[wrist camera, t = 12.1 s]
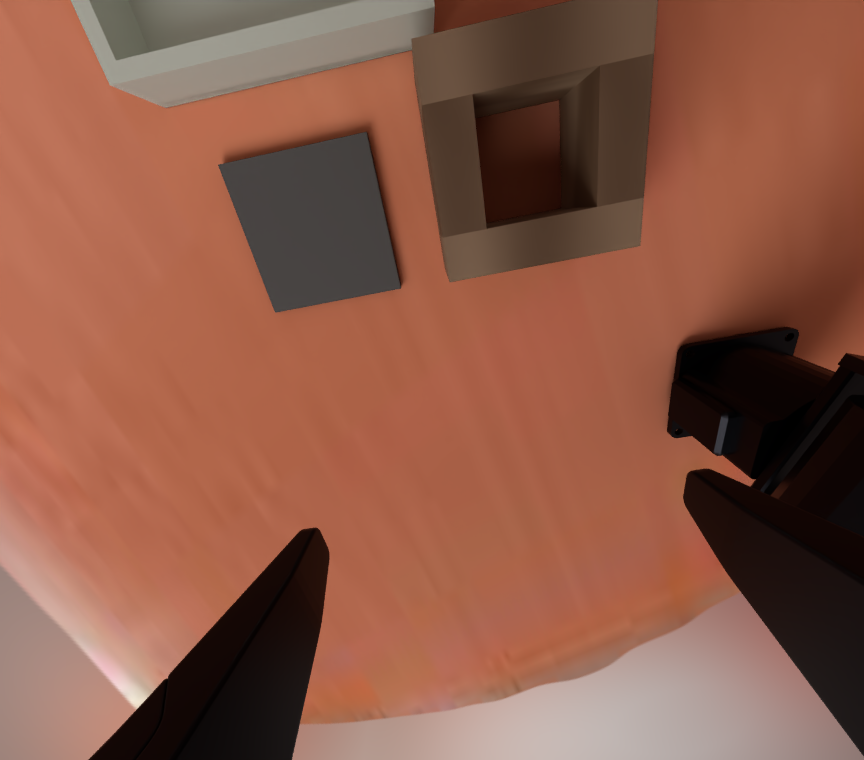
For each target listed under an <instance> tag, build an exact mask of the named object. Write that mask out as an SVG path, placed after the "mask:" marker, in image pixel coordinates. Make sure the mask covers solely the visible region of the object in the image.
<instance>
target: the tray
mask: <svg viewBox="0 0 864 760" xmlns="http://www.w3.org/2000/svg"><path fill="white" fill-rule="evenodd" d="M71 2H72V4H73V6H74V8H75V11H76V13H77V15H78V17H79V19H80V21H81V24H82V26H83V28H84V30H85V32H86V34H87V36H88V39H89V41H90V43H91V45H92V47H93V49H94V52H95V54H96V56H97V58H98V60H99V62H100V65H101V67H102V69H103V71H104V73H105V75H106V78H107V80H108V82H109V84H110V86H113V87H115V88H118V89H120V90H123V91H125V92H128V93H130V94H133V95H135V96H137V97H140V98H142V99H145V100H147V101H150V102H152V103H155V104H157V105H160V106H162V107H165V108H167V107H172V106H176V105H180V104H184V103H189V102H193V101H197V100H202V99H206V98H210V97H214V96H219V95H223V94H227V93H231V92H236V91H240V90H244V89H248V88H253V87H257V86H261V85H265V84H270V83H274V82H278V81H282V80H287V79H291V78H295V77H299V76H304V75H308V74H312V73H316V72H321V71H325V70H329V69H333V68H338V67H342V66H346V65H350V64H355V63H359V62H363V61H367V60H372V59H376V58H380V57H384V56H389V55H393V54H397V53H401V52H406V51H410V50H412V42H411V39H412V38H416V37H421V36H425V35H429V34H433V33H434V16H435V4H434V0H71Z"/></svg>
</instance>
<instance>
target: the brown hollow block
mask: <svg viewBox="0 0 864 760" xmlns="http://www.w3.org/2000/svg"><path fill="white" fill-rule="evenodd" d="M657 6H658V0H572V1H568V2H564V3H560V4H555V5H551V6H547V7H543V8H539V9H534V10H530V11H526V12H522V13H517V14H513V15H509V16H505V17H501V18H496V19H492V20H488V21H484V22H480V23H475V24H471V25H467V26H463V27H459V28H454V29H450V30H446V31H442V32H437V33H433V34H429V35H425V36H421V37H416V38H412V39H411V42H412V54H413V67H414V79H415V86H416V92H417V98H418V105H419V111H420V117H421V123H422V129H423V136H424V142H425V148H426V154H427V160H428V166H429V173H430V179H431V185H432V191H433V197H434V204H435V210H436V216H437V222H438V228H439V235H440V241H441V247H442V253H443V259H444V266H445V270H446V273H447V276H448V279H449V281H450V282H454V281H459V280H464V279H470V278H475V277H480V276H485V275H491V274H496V273H501V272H506V271H512V270H517V269H522V268H527V267H532V266H538V265H543V264H548V263H553V262H559V261H564V260H569V259H574V258H580V257H585V256H590V255H595V254H600V253H606V252H611V251H616V250H621V249H627V248H632V247H637V246H640V242H641V229H642V215H643V201H644V187H645V173H646V159H647V145H648V131H649V117H650V103H651V89H652V76H653V62H654V48H655V34H656V20H657ZM556 100H559V106H560V157H561V208H560V209H555V210H550V211H545V212H540V213H535V214H530V215H525V216H520V217H515V218H510V219H505V220H500V221H495V222H490V223H486V218H485V208H484V199H483V189H482V180H481V170H480V161H479V152H478V142H477V133H476V123H475V118H479V117H483V116H488V115H492V114H497V113H501V112H506V111H511V110H515V109H520V108H524V107H529V106H533V105H538V104H542V103H547V102H551V101H556Z"/></svg>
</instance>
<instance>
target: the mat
mask: <svg viewBox="0 0 864 760" xmlns="http://www.w3.org/2000/svg"><path fill="white" fill-rule="evenodd" d="M218 166H219V168H220V171H221V174H222V176H223V179H224V181H225V184H226V187H227V189H228V192H229V194H230V197H231V199H232V202H233V205H234V207H235V210H236V212H237V215H238V218H239V220H240V223H241V225H242V228H243V231H244V233H245V236H246V238H247V241H248V243H249V246H250V249H251V251H252V254H253V256H254V259H255V262H256V264H257V267H258V269H259V272H260V275H261V277H262V280H263V282H264V285H265V287H266V290H267V293H268V295H269V298H270V300H271V303H272V306H273V308H274V311H275V312H281V311H286V310H291V309H296V308H301V307H307V306H312V305H317V304H322V303H327V302H333V301H338V300H343V299H348V298H354V297H359V296H364V295H369V294H374V293H380V292H385V291H390V290H395V289H401V284H400V279H399V275H398V270H397V266H396V261H395V257H394V252H393V247H392V243H391V238H390V234H389V229H388V225H387V220H386V216H385V211H384V206H383V202H382V197H381V193H380V188H379V184H378V179H377V174H376V170H375V165H374V161H373V156H372V152H371V147H370V143H369V138H368V134H367V132H364V133H359V134H355V135H350V136H346V137H341V138H337V139H332V140H328V141H323V142H319V143H314V144H310V145H305V146H301V147H296V148H292V149H287V150H283V151H278V152H274V153H269V154H265V155H260V156H256V157H251V158H247V159H242V160H238V161H233V162H229V163H224V164H220V165H218Z"/></svg>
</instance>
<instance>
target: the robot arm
mask: <svg viewBox="0 0 864 760" xmlns="http://www.w3.org/2000/svg"><path fill="white" fill-rule="evenodd" d="M787 334H788V335H787ZM786 335H787V336H786ZM798 336H799V332H798V330H796V329H793V328H790V327H782V328H776V329H770V330H764V331H759V332H753V333H747V334H741V335H735V336H730V337H724V338H718V339H712V340H706V341H701V342H695V343H689V344H685V345H683V346H681V347H680V348H679V350H678V352H677V358H676V366H675V373H674V381H673V383H672V389H671V397H670V405H669V412H668V416H669V419H668V427H667V432H668V433H669V434H670V435H671V436H672V437H674V438H681V437H688V436H693V437H694V438H695V439H696V440H698V441H699V442H700V443H701V444H702V445H704V446H705V447H706V448H707V449H708V450H710V451H711V452H712V453H713V454H715V455H716V456H721V455H723V456H724V457H725V458H727V459H728V460H729V461H730V462H732V463H733V464H734V465H735V466H736V467H738V468H739V469H740V470H741V471H743V472H744V473H745V474H746V475H748V476H749V477H750V478H751V479H756V480H755V481H754V483H753V484H752V485H751V487H750V486H747V485H745V484H743V483H741V482H738V481H736V480H734V479H732V478H729V477H727V476H725V475H722V474H720V473H718V472H716V471H713V470H711V469H700V470H693V471H690V472H689V473H688V474H687V477H686V483H685V489H684V494H683V499H684V503H685V506H686V508H687V510H688V511H689V513H690V514H691V516H692V518H693V519H694V521H695V523H696V524H697V526H698V527H699V529H700V531H701V532H702V534H703V536H704V537H705V539H706V541H707V542H708V544H709V545H710V547H711V549H712V550H713V552H714V554H715V555H716V557H717V558H718V560H719V562H720V563H721V565H722V566H723V568H724V569H725V571H726V572H727V574H728V575H729V576H730V578H731V579H732V581H733V582H734V583H735V585H736V586H737V587H738V589H739V590H740V591H741V593H742V594H743V595H744V597H745V598H746V599H747V601H748V602H749V603H750V604H751V606H752V607H753V609H754V610H755V611H756V613H757V614H758V615H759V617H760V618H761V619H762V621H763V622H764V623H765V625H766V626H767V627H768V629H769V630H770V631H771V633H772V634H773V635H774V637H775V638H776V639H777V641H778V642H779V644H780V645H781V646H782V648H783V649H784V650H785V651H786V653H787V654H788V656H789V657H790V658H791V660H792V661H793V662H794V664H795V665H796V666H797V668H798V669H799V670H800V671H801V673H802V674H803V676H804V677H805V678H806V680H807V681H808V682H809V684H810V685H811V686H812V688H813V689H814V690H815V692H816V693H817V694H818V696H819V697H820V698H821V700H822V701H823V702H824V704H825V705H826V706H827V708H828V709H829V710H830V712H831V713H832V714H833V716H834V717H835V719H836V720H837V721H838V723H839V724H840V725H841V726H842V728H843V729H844V731H845V732H846V733H847V735H848V736H849V737H850V738H851V740H852V741H853V743H854V744H855V745H856V747H857V748H858V749H859V751H860V752H861V753H862V755H863V756H864V356H860V355H855V354H849V353H846V354H845V355H844V357H843V358H842V359H841V361H840V362H839V363H838V365H840V367H839V368H838V369H837V371H836V372H834V371H831V370H828V369H826V368H823V367H821V366H818V365H815V364H813V363H810V362H808V361H805V360H803V359H800V358H797V357H795V356H793V354H794V350H795V347H796V343H797V340H798ZM688 351H690V353H689V354H688V355H686V353H687V352H688ZM677 429H678V430H677ZM676 430H677V431H676ZM328 566H329V549H328V547H327V545H326V542H325V540H324V538H323V536H322V534H321V532H320V530H319V529H318V528H309V529H303V530H301V531H300V532H299V533H298V534H297V535H296V536H295V537H294V538H293V539H292V540H291V541H290V542H289V543H288V545H287V546H286V547H285V548H284V549H283V550H282V551H281V552H280V553H279V554H278V556H277V557H276V558H275V559H274V560H273V561H272V562H271V563H270V564H269V565H268V567H267V568H266V569H265V570H264V571H263V572H262V573H261V574H260V575H259V576H258V577H257V579H256V580H255V581H254V582H253V583H252V584H251V585H250V586H249V587H248V588H247V590H246V591H245V592H244V593H243V594H242V595H241V596H240V597H239V598H238V599H237V601H236V602H235V603H234V604H233V605H232V606H231V607H230V608H229V609H228V610H227V611H226V613H225V614H224V615H223V616H222V617H221V618H220V619H219V620H218V621H217V622H216V624H215V625H214V626H213V627H212V628H211V629H210V630H209V631H208V632H207V633H206V635H205V636H204V637H203V638H202V639H201V640H200V641H199V642H198V643H197V644H196V646H195V647H194V648H193V649H192V650H191V651H190V652H189V653H188V654H187V655H186V656H185V658H184V659H183V660H182V661H181V662H180V663H179V664H178V665H177V666H176V667H175V669H174V670H173V671H172V672H171V673H170V674H169V676H168V679H165V680H163V682H162V683H161V684H160V685H159V686H158V687H157V688H156V689H155V690H154V691H153V693H152V694H151V695H150V696H149V697H148V698H147V699H146V700H145V701H144V702H143V703H142V704H141V706H140V707H139V708H138V709H137V710H136V711H135V712H134V713H133V714H132V715H131V716H130V717H129V718H128V720H126V722H125V723H124V724H123V725H122V726H121V727H120V728H119V729H118V730H117V731H116V732H115V733H114V734H113V735H112V736H111V737H110V739H108V740H107V741H106V743H104V744H103V746H102V747H100V748H99V750H98V751H97V752H96V753H95V754H94V755H93V756H92V757H91V758H90V759H89V760H292V757H293V752H294V747H295V742H296V738H297V734H298V729H299V725H300V720H301V716H302V711H303V706H304V702H305V697H306V693H307V688H308V684H309V679H310V675H311V670H312V665H313V661H314V656H315V652H316V647H317V643H318V638H319V633H320V628H321V623H322V616H323V608H324V600H325V591H326V583H327V574H328Z"/></svg>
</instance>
